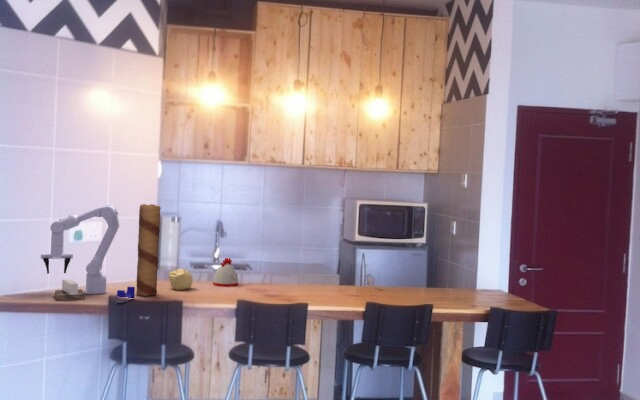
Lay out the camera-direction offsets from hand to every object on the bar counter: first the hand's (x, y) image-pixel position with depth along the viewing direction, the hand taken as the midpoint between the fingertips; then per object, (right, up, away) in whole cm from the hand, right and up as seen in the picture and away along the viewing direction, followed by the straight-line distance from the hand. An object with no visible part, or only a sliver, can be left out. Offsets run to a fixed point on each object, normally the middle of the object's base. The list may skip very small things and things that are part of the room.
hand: (56, 273), depth 318 cm
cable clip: (+37, -12, -13) cm, 41 cm away
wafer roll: (+43, -11, +4) cm, 45 cm away
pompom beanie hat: (+77, -12, +43) cm, 89 cm away
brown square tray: (+11, -10, -11) cm, 18 cm away
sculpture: (+56, -11, +24) cm, 62 cm away
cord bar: (+11, -8, -11) cm, 17 cm away
